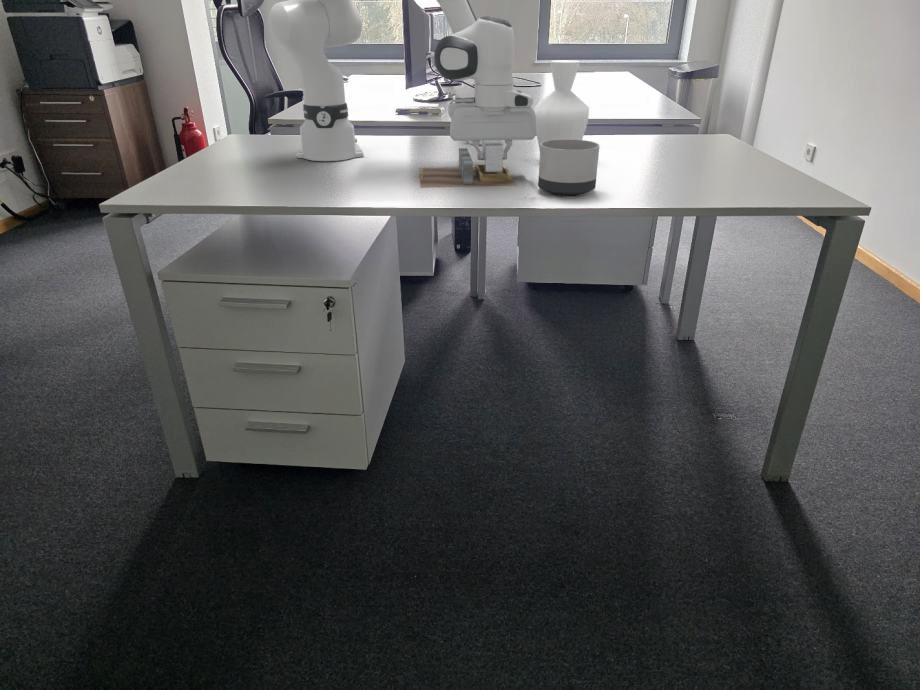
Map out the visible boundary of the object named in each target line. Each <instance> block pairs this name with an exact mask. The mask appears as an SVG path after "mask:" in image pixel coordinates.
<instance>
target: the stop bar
mask: <svg viewBox="0 0 920 690" xmlns="http://www.w3.org/2000/svg"><path fill="white" fill-rule="evenodd" d="M481 147H482V148H481V151H484V160H481V164H482V166H483V168H484V170H485V172H502V169H503V164H504V160H503V151H504V144H503V143H502V141H501V140H482V145H481Z"/></svg>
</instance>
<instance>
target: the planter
mask: <svg viewBox="0 0 920 690" xmlns="http://www.w3.org/2000/svg"><path fill="white" fill-rule="evenodd" d="M599 152H600V144H599V143H597V142H595V141H590V140H585V139H582V140H575V139H557V140H548V141H544V142H542V143H541V144H540V150H539V162H538V164H539V165H538V181H537V186H538V188H539V189H540V190H543V191H544V192H546V193H547V194H549V195H552V196H557V197H566V198H567V197H568V198H569V197H571V198H572V197H579V196H582V195H586V194H588V193H589V192H593V191H594V190H596V185H597V175H598V165H599V154H600V153H599Z"/></svg>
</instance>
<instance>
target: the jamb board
mask: <svg viewBox="0 0 920 690" xmlns="http://www.w3.org/2000/svg"><path fill="white" fill-rule="evenodd" d="M474 165H475V166H474ZM419 184H420V188H458V187H459V188H460V187H462V188H465V187H466V188H467V187H470V188H471V187H506V186H507V187H510V186H511V187H512V186H513V187H514V186H515V187H516V186H518V184H517V183H516V181H515V180H514V178H513V177H512V175H511V173H510V172H509V170H508V167H507V166H506V164H505V163H503V169H502V172H485V170H484V168H483V166H482V163H481V164H474V161H473V160H472V157H471V155H470V152H469V149H468V148H466V147H465V148H464V147H463V148H462V147H461V148H458V166H453V167H450V166H448V167H445V166H443V167H419Z"/></svg>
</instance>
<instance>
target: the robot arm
mask: <svg viewBox="0 0 920 690" xmlns="http://www.w3.org/2000/svg"><path fill="white" fill-rule="evenodd" d="M436 2H437V3H438V5H439V6H440V8H441V10H442V12H443V13H442V14H444V16H445V19H446V21H447V24H448V25H449V27H450V30H451V32H452V33H451V34H448V35H447V36H445V37H443V38H441V39H440V40H439V41H438V42H437V44H436V47H435V50H434V55H433V59H434V65H435V67H436V69H437V72H438V73H439V75H441V77H442V78H445V79H446V80H449V81H454V82H455V81H456V82H457V81H458V82H459V81H466V80H471V79H472V80H474V81H473V82H474V95H473V96H474V97H464V98H463V97H455V98H454V99H452V100H451V101H450V102H449V103H448V109H447V110H448V113H447V114H448V116H449V118H450V124H449V136H450V138H451V139H452V140H453V141H454V142H455V141H457V142H459V141H461V142H462V141H464V142H466V141H467V142H468V141H470V140H473V144H472V145H473V147H474V148H475V150H476V152H477V161H482V160H484V151H482V150H480V148H479V146H481V145H480V140H500V141H504V143H505V144H506V145H505V146H504V148H503V161H504V160H507V159H508V152H509V151H510V149H511V147H512V146H513V141H518V140H520V141H522V140H524V141H525V140H527V141H528V140H530V141H531V140H534V139H535V138H536V137H537V135H536V116H535V112H534V109H533V108H532V106H533V102H534V99H533V97H532V96H531V95H529V94H527V93H524V92H522V91H521V90H518V89H517V90H515V89H514V78H513V68H514V65H515V52H516V51H515V49H516V48H515V34H514V27H513V26H512V24H511V23H510V21H507V20H506V19H503V18H499V17H496V16H495V17H492V16H480V17H478V19H477V17H476V15H475V13H474V10H473V8H472V5H471V4H470V1H469V0H436ZM268 28H269V31H270V33H271V36H272V38H273V39H274V41H276V43H277V44H278V45H280V46H281V47H282V48H284V50H286V52H288V54H289V56H290V57H291V58H292V60H293V61H294V63H295V66H296V67H297V71H298V74H299V77H300V82H301V88H302V95H303V105H302V112H303V118H304V122H303V123H301V125H300V126H299V131H300V143H301V151H299V152H296V158H298V159H305V160H309V161H313V162H314V161H315V162H336V161H337V162H338V161H344V160H349V159H354V158H359V157H364V155H365V154H364V151H363V150H362V148H361V147H360V146H359V144H358V140H357V137H356V136H355V134H356V133H355V127H354V125H353V123H352V122H351V121H350V120H349V118H348V117H349V109H348V104H347V102H346V96H345V85H344V82H345V81H344V75H343V73H342V70H340V68H339V67H338V66H336V65H334V64H333V63H331V62H330V61H329V60H328V58H327V56H326V54H325V53H326V52H325V50H324V48H336V47H345V46H347V45H351V44H354V43H355V42H357V41H358V40H359V39H360V37H361V35H362V29H363V20H362V16H361V14H360V11H359V10H358V8H357V7H356V5H355V4H353V1H352V0H283V1H280V2H277V3H275V4H274V5H272V7H271V9H270V11H269V14H268Z"/></svg>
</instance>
